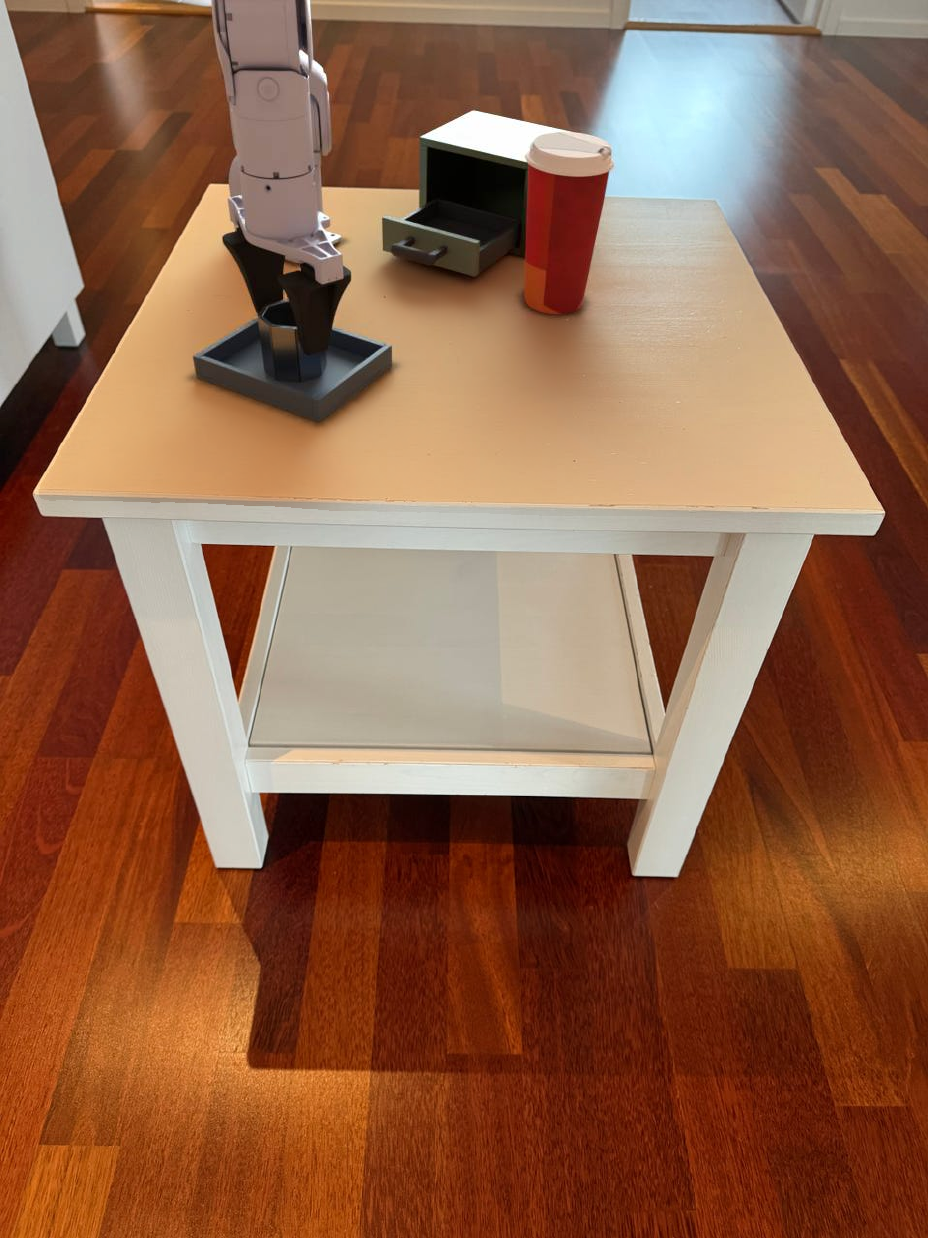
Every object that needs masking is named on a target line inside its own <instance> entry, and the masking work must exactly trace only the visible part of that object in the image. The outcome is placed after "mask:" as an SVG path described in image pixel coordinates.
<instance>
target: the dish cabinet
mask: <svg viewBox="0 0 928 1238" xmlns="http://www.w3.org/2000/svg"><path fill="white" fill-rule="evenodd" d="M553 132H571V131H569V130H565V129H560V128H555V127H550V126H546V125H541V124H537V123H532V122H528V121H523V120H520V119H519V120H518V119H514V118H509V117H506V116H500V115H496V114H491V113H486V112H483V111H477V110H471V111H469V112H467V113H465V114H463V115H461V116H459V117H458V118H455V119H453V120H452V121H449V122H447V123H445V124H443V125H441V126H439V127H437V128H435V129H433V130H430V131H429V132H427V133H426V134H423V135H421V136H419V163H418V164H419V168H418V169H419V171H418V174H419V175H418V176H419V177H418V178H419V179H418V181H419V182H418V183H419V184H418V186H419V187H418V190H419V191H418V194H419V195H418V209H419V208H420V207H422V206H424V205H425V204H427V203H429V202H430V201H432V200H434V199H435V198H438V199H442V200H446V201H450V202H454V203H458V204H462V205H466V206H470V207H473V208H477V209H481V210H485V211H489V212H493V213H497V214H501V215H504V216H508V217H512V218H516V219H520V220H522V224H521V236H520V244H519V245H517V246H516V247H515V248H513V249H512V250H510V251H509V252H508V253H509V254H513V255H516V256H518V257H523V258H525V250H526V221H527V193H528V165H529V164H528V163H527V162H526V159H525V158H524V154H525V153H526V152H527V151H529V150H530V148H529V145H530V144H531V143H532V142H533V141H534V139H535V138H536V137H538V136H540V135H542V134H546V133H553ZM508 253H507V254H508Z"/></svg>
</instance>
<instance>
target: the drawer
mask: <svg viewBox="0 0 928 1238" xmlns="http://www.w3.org/2000/svg"><path fill="white" fill-rule="evenodd" d="M521 224H522V220H520V219H516V218H512V217H508V216H504V215H501V214H497V213H493V212H489V211H485V210H481V209H477V208H473V207H470V206H466V205H462V204H458V203H454V202H450V201H446V200H442V199H438V198H435V199H434V200H432V201H430V202H429V203H427V204H425V205H424V206H422V207H420V208H419V207H418V208H417V209H415V210H413V211H412V212H410V213H408V214H407V215H405V216H403V217H401V218H398V217H394V216H391V215H384V216H382V217H381V231H382V232H381V233H382V234H381V235H382V251H383V252H387V253H389V254H392V255H393V256H394V257H398V258H400V259H401V258H402V259H405V260H408V261H411V262H416V263H419V264H422V265H426V266H436V267H440V268H442V269H446V270H450V271H454V272H456V273H460V274H463V275H468V276H470V277H477V276H478V275H479V274H480V273H482V272H484V271H485V270H486V269H487V268H489V267H490V266H491V265H493V264H494V263H496V262H497V261H499V260H500V259H501V258H502V257H504V256H506V254H508V252H509V251H510V250H512V249H513V248H515V247H516V246H517V245H519V244H520V236H521Z"/></svg>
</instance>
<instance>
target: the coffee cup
mask: <svg viewBox="0 0 928 1238" xmlns="http://www.w3.org/2000/svg"><path fill="white" fill-rule="evenodd" d="M529 148H530V150H529V151H527V152H526V153H525V154H524V158H525V159H526V162H527V163H528V164H529V165H528V193H527V221H526V250H525V257H524V290H523V291H524V293H523V294H524V302H525V304H526V305H527V306H528V307H529V308H531V310H535V311H537V312H539V313H544V314H547V315H567V314H568V315H569V314H571V313H575V312H576V311H578V310H579V309H580V308H582V305H583V301H584V298H585V293H586V289H587V284H588V280H589V274H590V270H591V265H592V260H593V256H594V250H595V244H596V241H597V235H598V232H599V226H600V222H601V217H602V213H603V208H604V204H605V198H606V192H607V187H608V182H609V177H610V171H612V170H613V169H614V167H615V160H614V158H613V156H612V146H611V144H610V143H609V142H608V141H606V140H604V139H603V138H601V137H598V136H595V135H592V134H588V133H583V132H574V131H570V132H553V133H546V134H542V135H540V136H538V137H536V138H535V139H534V141H533V142H532V143H531V144H530V145H529Z"/></svg>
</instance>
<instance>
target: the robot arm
mask: <svg viewBox="0 0 928 1238" xmlns="http://www.w3.org/2000/svg"><path fill="white" fill-rule="evenodd" d="M210 3H211V16H212V25H213V34H214V42H215V48H216V53H217V57H218V60H219V64H220V66H221V70H222V74H223V81H224V85H225V93H226V100H227V103H228V107H229V116H230V126H231V134H232V141H233V142H232V143H233V146H234V150H235V151H236V155H235V157H234V158H233V160H232V162H231V165H230V167H229V172H228V189H229V197H227V204H228V212H229V213H228V214H229V220H230V222H232V223H233V228H234V231H230V232H227V233H225V234H223V235H222V236H221V239H222V240H221V241H222V243H223V246H225V248H226V249H227V251H228V252H229V253H230V255H231V257H232V259H233V260H234V262H235V264H236V265H237V268H238V269H239V271H240V274H241V276H242V278H243V280H244V283H245V285H246V288H247V291H248V294H249V297H250V299H251V303H252V305H253V308H254V310H255V312H256V315H257V316H258V315H259V313H260V312H261V310H262V308H263V307H264V306H265V305H267V304H271V303H275V302H278V301H282V300H284V293H285V295H286V297H287V299H288V300H289V302H290V304H291V307H292V310H293V313H294V317H295V321H296V326H297V331H298V337H299V341H300V344H301V347H302V350H303V352H304V353H305V354H306V355H312V354H315V353H318V352H321V351H325V350H327V349H328V346H329V341H330V336H331V331H332V326H333V325H334V321H335V317H336V314H337V310H338V308H339V306H340V305H339V304H340V302H341V300H342V298H343V296H344V294H345V291H346V290H347V288H348V286H349V285H350V283H351V282H352V271H351V270H350V269H349V268H348V267H346V266H345V265H344V260H343V254H342V253H341V252H340V251H339V250H337V249H336V248H335V247H334V245H335V244H337V243H339V242H341V241H342V235H341V234H339V233H338V234H337V233H334V232H331V231H327V230H326V229H328V228H330V227H331V218H330V217H329V216H328V215H326V214H325V213H324V204H323V187H322V172H321V171H322V169H321V165H322V156H323V157H327V156H328V155H329V153H330V152H331V151H332V149H333V143H332V142H333V140H332V123H331V121H332V119H331V105H330V93H329V91H328V80H327V75H326V73H325V72H324V68H323V67H322V65H320V63H318V62H317V61H315V60H314V47H313V46H314V45H313V44H314V43H313V29H312V28H313V27H312V13H311V0H210ZM303 50H304V51H303ZM285 261H289V262H292V263H295V264H299V265H300V266H299V267H300V270H299V269H298V270H297V269H296V270H293V271H290V272H286V273H284V271H285V263H286V262H285ZM333 327H334V326H333Z"/></svg>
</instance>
